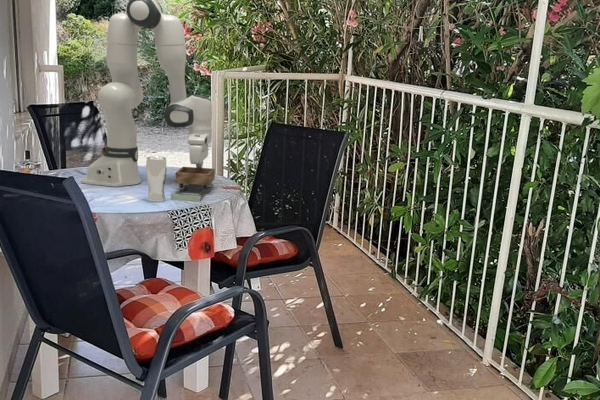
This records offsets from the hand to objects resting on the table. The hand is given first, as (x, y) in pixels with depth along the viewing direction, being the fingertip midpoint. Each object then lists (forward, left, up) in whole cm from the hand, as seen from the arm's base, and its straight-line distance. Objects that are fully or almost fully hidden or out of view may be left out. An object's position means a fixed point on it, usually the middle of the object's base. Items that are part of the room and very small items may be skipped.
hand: (199, 171), depth 239 cm
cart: (0, -8, -4) cm, 9 cm away
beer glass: (-10, -27, -6) cm, 30 cm away
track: (0, -12, -6) cm, 13 cm away
